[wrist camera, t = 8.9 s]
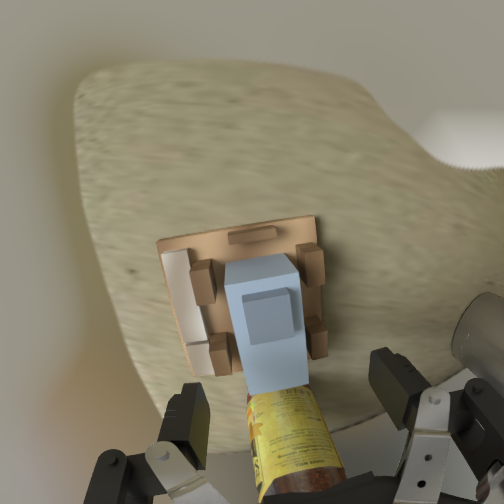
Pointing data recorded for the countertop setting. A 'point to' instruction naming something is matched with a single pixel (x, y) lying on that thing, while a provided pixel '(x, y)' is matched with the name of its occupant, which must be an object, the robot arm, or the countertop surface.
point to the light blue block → (268, 322)
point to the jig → (213, 291)
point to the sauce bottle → (291, 443)
